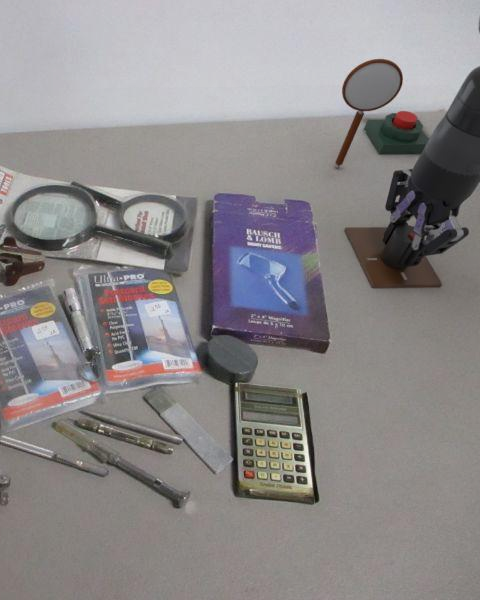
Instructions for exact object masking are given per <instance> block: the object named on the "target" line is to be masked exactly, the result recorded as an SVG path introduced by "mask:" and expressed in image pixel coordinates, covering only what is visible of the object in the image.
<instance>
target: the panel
mask: <svg viewBox="0 0 480 600" xmlns="http://www.w3.org/2000/svg"><path fill="white" fill-rule="evenodd" d="M387 227H388V226H385V227H384V226H373V227H372V226H368V227H366V226H365V227H362V226H361V227H358V226H357V227H354V226H353V227H345V228H344V230H343V231H344V233H345V235H346V237H347V240H348V242H349V244H350V246H351V248H352V250H353V253H354V254H355V257H356V258H357V261H358V262H359V265H360V267H361V269H362V271H363V273H364V275H365V277H366V279H367V282H368V283H369V285H370V287H371V289H413V288H415V289H418V288H419V289H420V288H426V289H427V288H441V287H442V286H443V282H442V281H441V279H440V278H439V276H438V274H437V273H436V271H435V269H434V267H433V266H432V264H431V263H430V261H429V259H428V256H424V257H423V259H422V260H421V262H420V263H419V264H418V265H417V266H410V267H406V268H404V269H396V268H392V267H390V266H388V265H386V264H385V263H384V262H383V261H382V259H381V253H382V251H383V249H384V248H385V246H386V244H385V243H384V242H383V241H382V240H383V238H384V232H385V231H386V229H387Z"/></svg>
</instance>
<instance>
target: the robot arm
mask: <svg viewBox="0 0 480 600" xmlns="http://www.w3.org/2000/svg"><path fill="white" fill-rule="evenodd" d="M477 27H478V33H479V34H480V15H479V16H478V23H477ZM428 139H429V140H428V142H427V144H426V146H425V148H424V149H423V151H422V153H421V154H419V157H418V158H417V160H416V162H415V164H414V166H413V168H406V169H405V168H404V169H397V170H394V171H393V174H392V177H391V181H390V186H389V189H388V194H387V198H386V202H385V204H384V205H385V206H384V208H385V211H386V212H390V216H389V221H390V222H389V224H388V226H386V227H387V229H386V231H385V232H384V238H383V240H382V241H383V242H384V243H385V244H387V242H388V241H389V239H390V237H391V235H392V234H393V232H394V230H395V228H396V227H398V226H400V225H409V223H408V222H409V221H411V220H412V219H413V218H415V223H414V226H413V227H414V230H413V231H414V232H415V236H414V239H413V242H412V245H410V246H409V248H408V250H407V251H406V253H405V255H404V256H403V258H402V259H401V261H400V264H401V266H402V267H410V266H417V265H418V264H419V263H420V262H421V260H422V259H423V257H424V256H426V257H428V256H429V257H430V256H435V255H442V254H443V253H446V252H447V251H448V250H450V249H451V248H453V247H454V246H455V245H457V244H458V243H460V242H461V241H462V240H464V239H465V238H466V237H469V234H470V231H469V228H468V227H466V226H464V227H461V225H460V223H459V220H458V218H457V217H458V216H459V213H460V208H461V205H462V204H463V203H464V202H465V201H467V199H468V198H470V197H471V196H472V194H473V193H474V192H475V190H476V189H477V187H478V186H479V184H480V65H479V66H476V67H474V68H473V69H472V70H471V71H470V72H469V73H468V74H467V76H466V77H465V78H464V80H463V82H462V84H461V86H460V87H459V89H458V91H457V93H456V95H455V96H454V98H453V100H452V102H451V104H450V106H449V107H448V109H447V111H446V112H445V114H444V115H443V117H442V118H441V119H440V121H439V122H438V124H437V125H436V126H435V128H434V130H433V132H432V133H431V135H430V137H429V138H428ZM398 196H399V198H398V201H397V197H398ZM424 237H425V240H424Z"/></svg>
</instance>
